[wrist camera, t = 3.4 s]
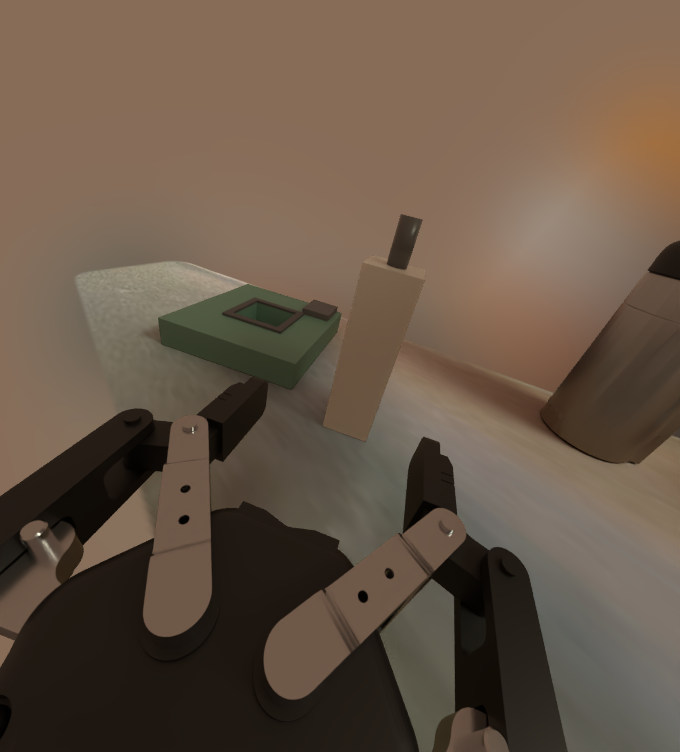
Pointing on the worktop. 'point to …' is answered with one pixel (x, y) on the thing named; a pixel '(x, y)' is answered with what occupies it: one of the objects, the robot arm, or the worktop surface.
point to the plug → (375, 333)
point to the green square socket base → (254, 332)
